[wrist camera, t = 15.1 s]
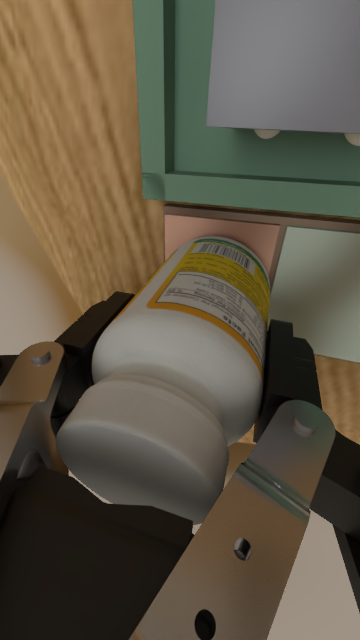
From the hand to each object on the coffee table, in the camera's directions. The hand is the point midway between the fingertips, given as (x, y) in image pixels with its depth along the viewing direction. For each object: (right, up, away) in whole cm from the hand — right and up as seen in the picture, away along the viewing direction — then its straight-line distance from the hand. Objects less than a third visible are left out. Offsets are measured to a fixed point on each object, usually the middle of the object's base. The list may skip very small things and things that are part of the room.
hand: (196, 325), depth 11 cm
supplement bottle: (+1, +2, +3) cm, 4 cm away
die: (+4, +9, -2) cm, 10 cm away
